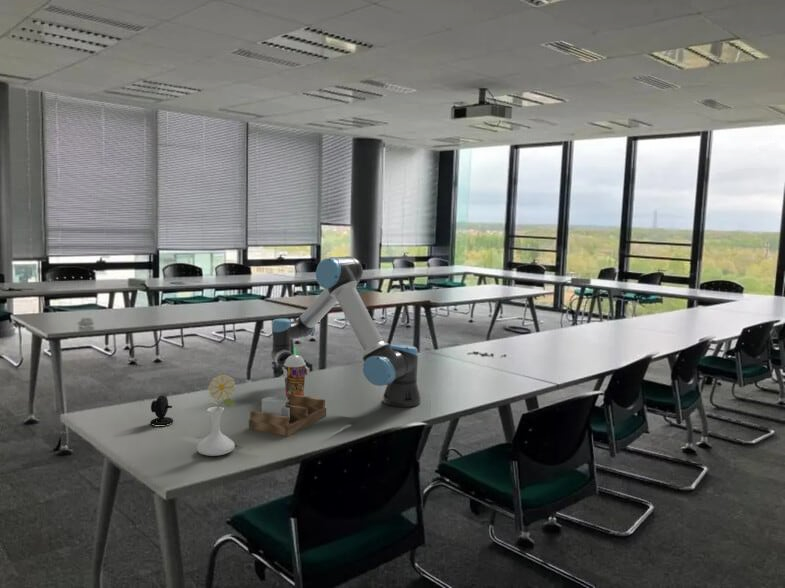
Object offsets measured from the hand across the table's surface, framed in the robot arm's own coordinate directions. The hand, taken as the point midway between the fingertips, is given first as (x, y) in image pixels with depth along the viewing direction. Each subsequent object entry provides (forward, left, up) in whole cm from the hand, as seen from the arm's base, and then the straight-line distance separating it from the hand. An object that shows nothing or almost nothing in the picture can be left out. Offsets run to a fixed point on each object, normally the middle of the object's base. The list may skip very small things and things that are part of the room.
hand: (297, 373), depth 234 cm
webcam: (+33, +35, -15) cm, 50 cm away
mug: (-5, +21, -13) cm, 26 cm away
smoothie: (+3, -3, -11) cm, 12 cm away
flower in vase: (-2, +47, -15) cm, 49 cm away
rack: (-7, +16, -14) cm, 22 cm away
